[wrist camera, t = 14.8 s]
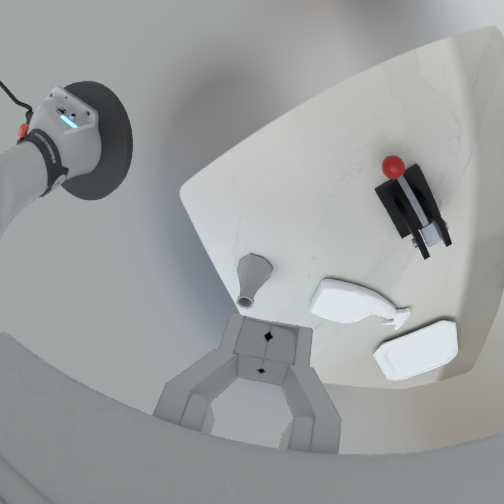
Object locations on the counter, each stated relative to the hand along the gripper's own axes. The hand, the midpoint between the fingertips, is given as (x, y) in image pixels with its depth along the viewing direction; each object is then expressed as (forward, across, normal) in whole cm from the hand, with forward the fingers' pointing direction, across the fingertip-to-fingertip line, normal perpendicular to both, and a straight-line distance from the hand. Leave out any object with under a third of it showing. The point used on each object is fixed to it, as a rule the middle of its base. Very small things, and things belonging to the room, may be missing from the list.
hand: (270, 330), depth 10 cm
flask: (+36, +6, +30) cm, 47 cm away
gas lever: (+31, -17, +6) cm, 36 cm away
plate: (+36, -43, +51) cm, 76 cm away
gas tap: (+37, -20, +9) cm, 43 cm away
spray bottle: (+36, -19, +35) cm, 54 cm away
